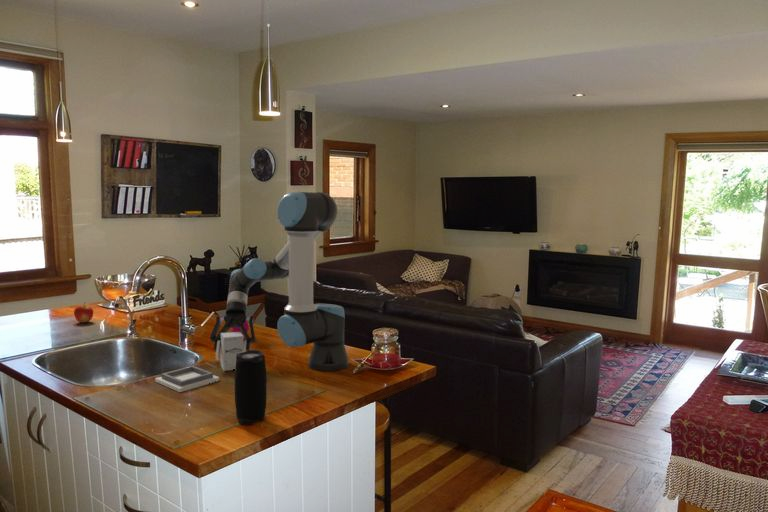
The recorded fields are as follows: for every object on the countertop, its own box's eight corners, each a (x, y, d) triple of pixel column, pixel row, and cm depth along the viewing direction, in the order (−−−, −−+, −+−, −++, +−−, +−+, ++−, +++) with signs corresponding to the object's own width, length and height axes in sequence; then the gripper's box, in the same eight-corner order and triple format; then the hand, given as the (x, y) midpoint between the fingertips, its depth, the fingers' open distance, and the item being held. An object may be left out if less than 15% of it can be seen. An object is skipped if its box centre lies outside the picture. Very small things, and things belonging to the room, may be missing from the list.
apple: (82, 320, 275) (81, 300, 274) (97, 321, 274) (96, 300, 273) (70, 324, 267) (69, 303, 266) (86, 325, 266) (85, 304, 265)
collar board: (219, 380, 194) (219, 372, 193) (179, 392, 182) (179, 384, 182) (194, 371, 203) (194, 363, 203) (155, 381, 191) (155, 373, 191)
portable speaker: (230, 425, 157) (229, 357, 155) (242, 412, 167) (241, 348, 164) (260, 427, 157) (260, 358, 154) (270, 414, 166) (269, 349, 164)
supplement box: (223, 371, 203) (222, 337, 201) (220, 365, 210) (220, 332, 208) (244, 369, 206) (243, 335, 204) (240, 363, 213) (240, 330, 211)
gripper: (266, 310, 222) (261, 362, 208) (209, 311, 220) (201, 363, 206) (264, 300, 216) (260, 352, 202) (206, 300, 214) (198, 353, 200)
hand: (230, 358), depth 204 cm, fingers closed on supplement box, 9 cm apart
